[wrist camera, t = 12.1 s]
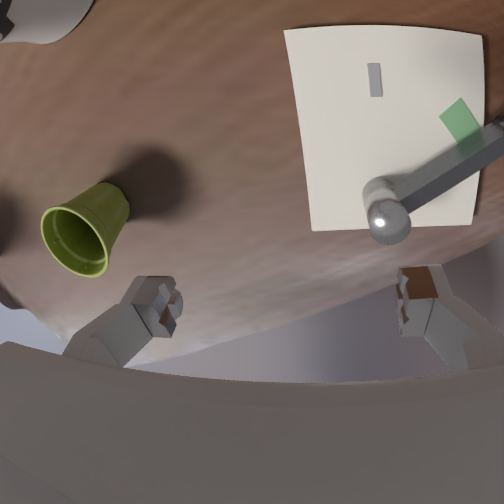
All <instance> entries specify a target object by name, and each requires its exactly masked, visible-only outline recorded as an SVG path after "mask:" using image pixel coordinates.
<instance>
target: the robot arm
mask: <svg viewBox="0 0 504 504" xmlns="http://www.w3.org/2000/svg"><path fill="white" fill-rule="evenodd" d="M92 2H93V0H0V43H4V42H31V43H35V44H48V43H52V42H55V41H57V40H59V39H61V38H62V37H64V36H65V35H67V34H68V33H69V32H70V31H72V30H73V29H74V28H75V27H76V26H77V24H78V23H79V22H80V21H81V20H82V18H83V17H84V16H85V14H86V13H87V11H88V10H89V8H90V6H91V4H92ZM397 278H398V282H399V283H398V284H397V285H396V289H395V307H396V312H397V313H398V314H399V315H400V316H399V321H398V323H399V329H400V334H401V337H413V336H414V337H415V336H424V338H425V339H426V340H427V341H428V343H429V344H430V345H431V346H432V347H433V348H434V350H435V351H436V352H437V353H438V354H439V356H440V357H441V358H442V359H443V360H444V362H445V363H446V364H447V365H448V366H449V367H450V371H449V372H448V374H440V375H432V376H424V377H414V378H404V379H392V380H378V381H361V382H336V383H275V382H252V381H251V382H250V381H235V380H221V379H220V380H219V379H208V378H197V377H188V376H179V375H171V374H163V373H155V372H148V371H141V370H135V369H129V368H123V366H124V365H125V364H127V363H128V362H129V361H130V360H131V359H132V358H133V357H134V356H135V355H136V354H137V353H138V352H139V351H140V350H141V349H142V348H143V347H144V346H145V345H146V344H147V343H148V342H149V341H150V340H151V339H152V337H162V338H171V337H172V335H173V332H174V330H175V327H176V325H177V324H176V322H175V320H176V319H177V318H178V317H180V315H181V313H182V310H183V299H182V296H181V293H180V292H179V291H178V290H176V289H175V286H176V282H175V280H174V278H173V277H171V276H137V277H136V278H135V279H134V280H133V282H132V284H131V285H130V287H129V288H128V290H127V292H126V293H125V295H124V297H123V298H122V300H121V302H120V303H119V304H116V305H114V306H113V307H111V308H110V309H108V310H107V311H106V312H104V313H103V314H101V315H100V316H99V317H97V318H96V319H94V320H93V321H92V322H90V323H89V324H87V325H86V326H85V327H83V328H82V329H80V330H79V331H78V332H76V333H75V334H74V335H73V337H72V338H71V340H70V342H69V343H68V345H67V347H66V349H65V350H64V352H63V354H62V355H58V354H54V353H50V352H46V351H42V350H38V349H35V348H31V347H27V346H23V345H20V344H17V343H14V342H5V343H3V344H1V345H0V504H504V335H503V333H501V332H500V331H499V330H498V329H497V328H496V327H494V326H493V325H492V324H491V323H490V322H488V321H487V320H486V319H485V318H484V317H482V316H481V315H480V314H479V313H477V312H476V311H475V310H474V309H473V308H471V307H470V306H469V305H468V304H466V303H465V302H464V301H462V300H461V299H460V298H459V297H454V296H453V294H452V291H451V288H450V286H449V283H448V281H447V278H446V276H445V273H444V271H443V269H442V266H441V265H440V264H430V265H421V266H406V267H399V269H398V274H397Z"/></svg>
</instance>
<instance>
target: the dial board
mask: <svg viewBox="0 0 504 504" xmlns="http://www.w3.org/2000/svg"><path fill="white" fill-rule="evenodd" d="M284 35H285V40H286V45H287V51H288V56H289V62H290V68H291V74H292V80H293V86H294V92H295V98H296V105H297V111H298V118H299V125H300V132H301V139H302V147H303V155H304V162H305V171H306V179H307V188H308V197H309V206H310V216H311V226H312V231H326V230H347V229H369V224H368V220H367V216H366V212H365V208H364V204H363V200H362V191H363V188H364V186H365V185H366V184H367V183H368V182H369V181H371V180H373V179H376V178H385V179H388V180H390V181H391V182H393V183H394V184H395V183H397V182H398V181H400V180H402V179H403V178H405V177H406V176H408V175H410V174H411V173H413V172H414V171H416V170H418V169H419V168H421V167H422V166H424V165H425V164H427V163H429V162H430V161H432V160H433V159H435V158H437V157H438V156H440V155H441V154H443V153H444V152H446V151H448V150H449V149H451V148H452V147H454V146H455V145H457V144H459V143H460V142H462V141H463V140H465V139H466V138H468V137H469V136H471V135H473V134H474V133H476V132H477V131H479V130H480V129H482V128H483V127H484V59H483V44H482V36H481V35H475V34H470V33H464V32H457V31H450V30H442V29H433V28H423V27H410V26H390V25H346V26H325V27H312V28H301V29H292V30H284ZM479 173H480V170H479V171H478V172H476V173H475V174H473V175H471V176H470V177H468V178H467V179H465V180H464V181H462V182H460V183H459V184H457V185H456V186H454V187H452V188H451V189H449V190H448V191H446V192H444V193H443V194H441V195H440V196H438V197H436V198H435V199H433V200H431V201H430V202H428V203H426V204H425V205H423V206H421V207H420V208H418V209H417V210H415V211H413V212H412V213H410V214H409V217H410V219H411V227H419V226H448V225H471V223H472V218H473V212H474V207H475V201H476V194H477V188H478V181H479Z"/></svg>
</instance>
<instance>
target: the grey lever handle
mask: <svg viewBox="0 0 504 504" xmlns="http://www.w3.org/2000/svg"><path fill="white" fill-rule="evenodd" d="M502 155H504V115H498V116H497V117H496V118H495V119H494V121H493V122H491V123H490V124H488V125H487V126H485V127H483V128H482V129H480V130H479V131H477V132H476V133H474V134H473V135H471V136H469V137H468V138H466V139H465V140H463V141H462V142H460V143H459V144H457V145H455V146H454V147H452V148H451V149H449V150H448V151H446V152H444V153H443V154H441V155H440V156H438V157H437V158H435V159H433V160H432V161H430V162H429V163H427V164H425V165H424V166H422V167H421V168H419V169H418V170H416V171H414V172H413V173H411V174H410V175H408V176H406V177H405V178H403V179H402V180H400V181H398V182H397V183H395V184H394V183H393V182H391V181H390V180H388V179H385V178H376V179H373V180H371V181H369V182H368V183H367V184H366V185H365V186H364V188H363V191H362V200H363V204H364V208H365V212H366V216H367V220H368V224H369V229H370V233H371V235H372V237H373V238H374V240H376V241H377V242H378V243H380V244H384V245H394V244H397V243H399V242H401V241H403V240H404V239H405V238H406V237H407V236H408V234H409V233H410V230H411V219H410V217H409V214H410V213H412V212H413V211H415V210H417V209H418V208H420V207H421V206H423V205H425V204H426V203H428V202H430V201H431V200H433V199H435V198H436V197H438V196H440V195H441V194H443V193H444V192H446V191H448V190H449V189H451V188H452V187H454V186H456V185H457V184H459V183H460V182H462V181H464V180H465V179H467V178H468V177H470V176H471V175H473V174H475V173H476V172H478V171H479V170H481V169H482V168H484V167H486V166H487V165H489V164H490V163H492V162H493V161H495V160H496V159H498V158H499V157H501V156H502Z"/></svg>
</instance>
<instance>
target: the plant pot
mask: <svg viewBox="0 0 504 504" xmlns="http://www.w3.org/2000/svg"><path fill="white" fill-rule="evenodd" d="M129 214H130V206H129V202H128V201H127V200H126V199H125V197H124V195H123V192H122V191H121V190H120V189H119V188H118V187H116V186H114V185H112V184H110V183H99V184H96V185H94V186H93V187H91V188H89V189H88V190H86V191H85V192H83V193H82V194H80V195H78V196H77V197H75V198H74V199H72V200H71V201H69V202H67V203H64V204H61V205H59V206H54V207H51V208H49V209H48V210H47V211H46V212H45V213H44V215H43V217H42V219H41V233H42V236H43V239H44V242H45V244H46V246H47V248H48V249H49V251H50V252H51V254H52V255H53V256H54V258H55V259H56V260H57V261H58V262H59V263H60V264H62V265H63V266H64V267H65V268H67V269H68V270H70V271H72V272H73V273H75V274H77V275H80V276H84V277H98V276H100V275H102V274H103V273H104V272H105V271H106V269H107V267H108V264H109V256H110V253H111V248H112V246H113V244H114V242H115V240H116V239H117V237H118V235H119V233H120V231H121V229H122V228H123V226H124V224H125V222H126V221H127V219H128V217H129Z"/></svg>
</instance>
